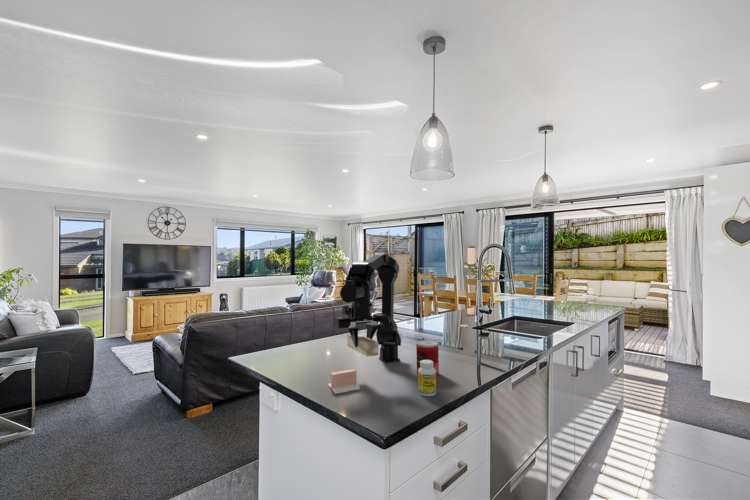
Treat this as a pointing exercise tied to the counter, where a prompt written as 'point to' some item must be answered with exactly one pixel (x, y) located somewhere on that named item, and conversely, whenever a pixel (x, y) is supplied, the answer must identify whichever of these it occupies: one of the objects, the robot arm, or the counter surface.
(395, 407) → the counter surface
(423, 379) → the supplement bottle
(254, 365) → the counter surface
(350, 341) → the beam
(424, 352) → the canned food
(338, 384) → the fulcrum
